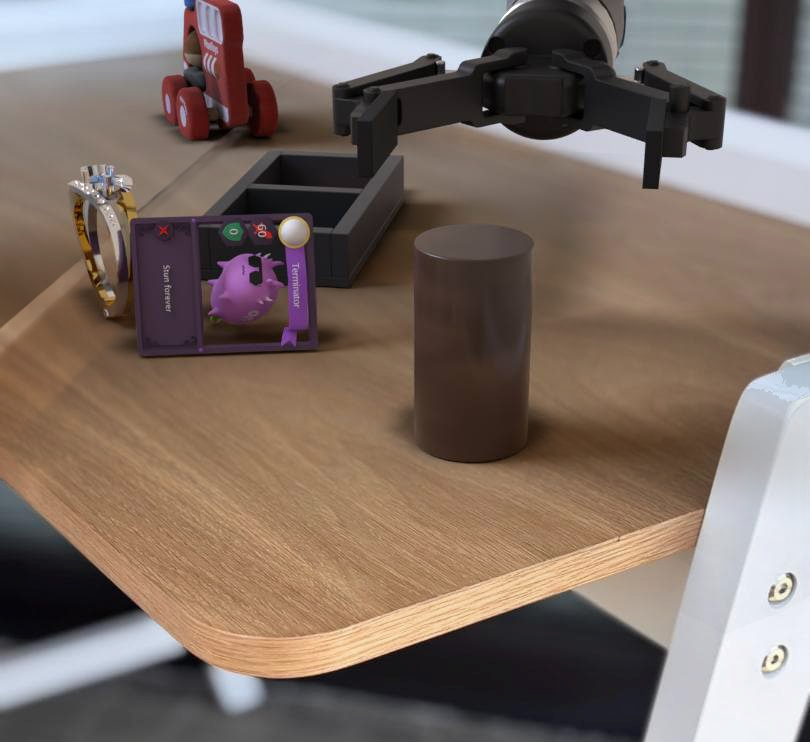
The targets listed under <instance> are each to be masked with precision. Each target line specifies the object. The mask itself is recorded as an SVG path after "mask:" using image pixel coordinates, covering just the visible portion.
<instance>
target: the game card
mask: <svg viewBox="0 0 810 742" xmlns="http://www.w3.org/2000/svg"><path fill="white" fill-rule="evenodd" d="M274 222H282V223H281V224H280V226H279V230H277V229H276V227H275V225H274V224H273V223H274ZM244 223H251V224H250V226H249V228H248V229H247V227H246V226H245V224H244ZM208 224H222V225H221V227H220V229H219V231H218V234H219V235H220V237H221V238H222V240H223V242H224V243H225V245H226V246H242V245H243V243H244V241H245V239H246V237H247V235H249V237H250V238H251V240H252V241H253V243H254V244H255V245H271V243H272V241H273V239H274V237H275V235H276V233H277V231H278V234H279V238H280V240H281V242H282V243H283V244H284V245H285V247H286V261H287V272H288V284H287V286H288V289H287V290H288V326H285V327H284V328H283V332H282V337H281V342H260V343H257V342H256V343H255V342H254V343H233V344H231V343H229V344H208V345H207V344H206V343H205V327H204V308H203V306H204V305H203V291H202V279H201V270H200V252H199V234H198V226H199V225H208ZM130 236H131V252H132V268H133V284H134V300H135V301H134V314H135V315H134V316H135V331H136V346H137V353H138V355H140V356H142V357H144V356H145V357H146V356H169V355H170V356H171V355H196V354H197V355H198V354H224V353H249V352H250V353H252V352H254V353H255V352H277V351H279V352H280V351H300V350H301V351H304V350H305V351H306V350H315V349H317V348H318V346H319V334H318V333H319V332H318V313H317V312H318V311H317V310H318V309H317V292H316V291H317V288H316V287H317V286H316V284H315V261H314V237H313V217H312V215H311V214H310V213H287V214H254V215H220V216H203V215H191V216H189V215H188V216H159V217H157V216H155V217H138V218H133V219H131V220H130ZM304 245H305V252H304ZM305 254H306V264H305ZM260 255H261V253H259V254H257V255H254V254H241V255H239V256H236V257H235V258H233V259H232V260H230V261H227V262H217V264H218V265H219V266H221V267H222V268H223V272H222V274H221V276H220V277H219V279H215V280H207V285H209V286H212V290H211V294H210V306H211V309H212V310H210V311H209V312H208V314H207V315H208V316H209V317H210V318H209V319H210V321H211V323H215V324H218V323H219V322H222V321H224V322H226V323H227V324H231V325H243V324H244V325H246V324H249V323H252V322H255V321H257V320H259V319H261V318H262V317H264V316H265V315H266V314H268V313H269V312H270V311H271V309H272V308H273V307H274V305H275V303H276V302H277V301H276V300H277V299H278V294H279V288H281V289H286V285H285V284H282V283H281V282H278V281H277V278H276V275H275V273H274V271H273V269H272V268H273V267H275V266H277V265H284V263H283V262H281V261H272V260H273V259H268V260H267V258H268V256H269V255H270V254H267V255H265V256H264V257H261V256H260ZM307 330H308V340H307V341H297V336H298V335H297V334H298V331H307Z"/></svg>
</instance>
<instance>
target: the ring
mask: <svg viewBox="0 0 810 742" xmlns="http://www.w3.org/2000/svg"><path fill="white" fill-rule="evenodd" d="M115 170H116V167H115V166H114V165H110V164H109V165H107V164H106V163H104V164H99V165H98V164H95V165H94V164H93V165H89V166H88V165H83V166H82V167H79V171H80V176H81V181H80V180H78V179H74V180H72V181H70V182H67V183H66V185H67V186H68V187H69V189H68V192H67V200H68V206H69V211H70V215H71V220H72V224H73V228H74V231H75V235H76V239H77V243H78V246H79V249H80V252H81V256H82V259H83V263H84V266H85V268H86V272H87V274H88V277H89V281H90V283H91V285H92V288H93V290H94V291H93V292H94V293H95V296H96V298H97V300H98V302H99V303H100V306H101V308H102V311H103V315H104V316H105V318H106V319H109V318H116V317H118V318H119V317H123V316H127V315H129V314H130V312H131V311H132V309H133V307H134V305H135V300H134V284H133V268H132V252H131V236H130V220H131V219H133V218H139V217H138V211H137V206H136V203H135V198H134V196H133V194H132V191H131V190H132V188H133V182H134V181H133V179H132V178H131V177H130V175H129V176H128V175H127V174H116V172H115ZM116 186H117V187H119V189H117V190H116ZM114 200H116V203H115V205H116V206H117V208H118V211H119V213H120V215H121V218H122V222H123V226H124V231H125V239H126V240H124V236H123V232H122V229H121V225H120V222H119V220H118V217H117V214H116V213H115V211H114V209H113V207H112V206H111V204H110V203H109V201H114ZM84 203H85V205H84ZM98 214H99V215H100V216H101V218H102V220H103V222H104V224H105V226H106V228H107V231H108V234H109V237H110V240H111V245H112V249H113V254H114V259H115V269H116V292H114V291H113V288H112V286H111V284H110V281H109V277H108V275H107V272H106V269H105V265H104V261H103V258H102V257H103V256H102V252H101V247H100V242H99V241H100V240H99V234H98V233H99V232H98ZM84 216H85V217H84ZM125 241H126V242H125ZM125 243H126V244H125Z"/></svg>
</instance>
